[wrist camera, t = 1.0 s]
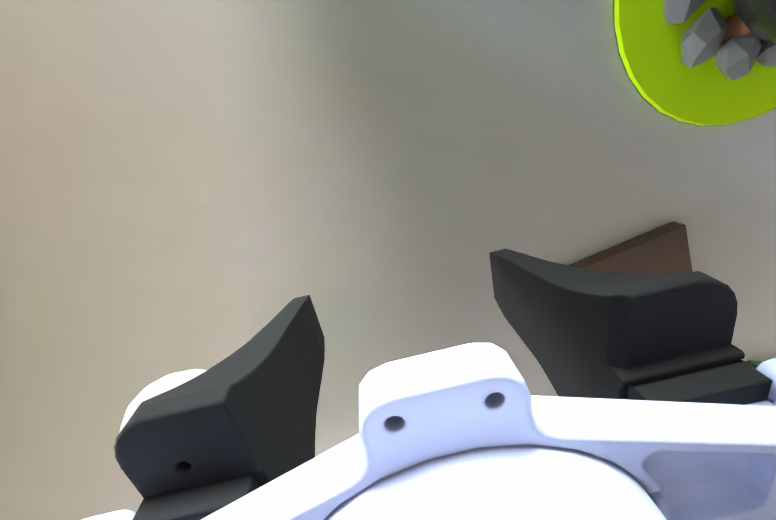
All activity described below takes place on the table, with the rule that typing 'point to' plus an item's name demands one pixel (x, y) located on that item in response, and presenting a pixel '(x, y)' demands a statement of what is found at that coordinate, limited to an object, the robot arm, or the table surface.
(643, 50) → the toy cauldron
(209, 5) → the table surface
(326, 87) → the table surface
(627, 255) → the post
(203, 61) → the table surface
